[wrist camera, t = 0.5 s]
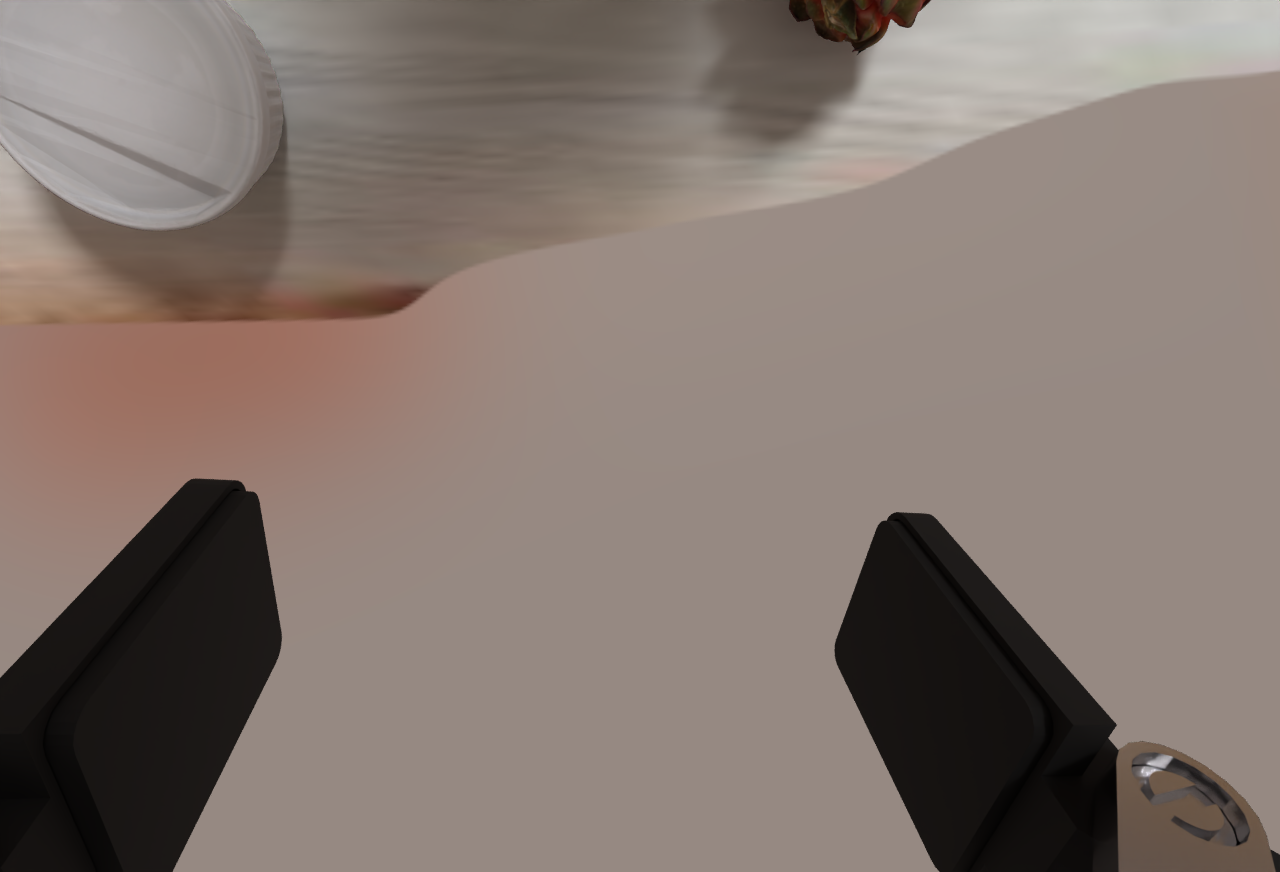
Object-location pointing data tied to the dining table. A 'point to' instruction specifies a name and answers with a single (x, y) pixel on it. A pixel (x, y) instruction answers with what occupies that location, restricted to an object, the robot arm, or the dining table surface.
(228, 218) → the dining table surface
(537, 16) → the dining table surface
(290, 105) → the dining table surface
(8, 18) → the ramekin
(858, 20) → the dragon fruit
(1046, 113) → the dining table surface
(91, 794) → the robot arm
